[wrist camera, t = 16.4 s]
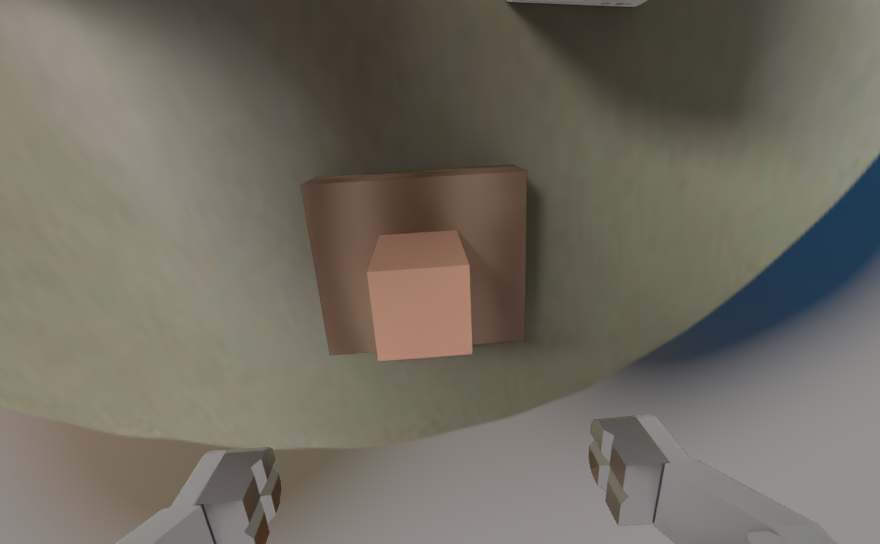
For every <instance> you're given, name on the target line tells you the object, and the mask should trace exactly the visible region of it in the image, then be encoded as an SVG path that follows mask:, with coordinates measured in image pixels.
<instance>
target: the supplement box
mask: <svg viewBox="0 0 880 544" xmlns="http://www.w3.org/2000/svg"><path fill="white" fill-rule="evenodd" d="M506 1H508V2H523V3H547V4H572V5H597V6H621V7H637V6H638V5H640V4H642V3H644V2H646V1H647V0H506Z"/></svg>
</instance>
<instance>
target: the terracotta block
mask: <svg viewBox="0 0 880 544" xmlns="http://www.w3.org/2000/svg"><path fill="white" fill-rule="evenodd" d="M367 278H368V286H369V294H370V302H371V310H372V317H373V325H374V333H375V341H376V349H377V357H378V361H388V360H401V359H415V358H428V357H441V356H454V355H467V354H472V327H471V297H470V268H469V263H468V260H467V257H466V254H465V252H464V249H463V246H462V243H461V240H460V238H459V235H458V232H457V230H451V231H436V232H421V233H407V234H392V235H380V236H379V238H378V241H377V244H376V247H375V250H374V253H373V256H372V259H371V262H370V265H369V267H368V270H367Z"/></svg>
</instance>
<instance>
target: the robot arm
mask: <svg viewBox="0 0 880 544" xmlns="http://www.w3.org/2000/svg"><path fill="white" fill-rule="evenodd" d="M591 434H592V436H593V438H594V441H593V442H592V444H591V445H590V446H589V463H590V468H591V471H592V474H593V477H594V479H595V481H596V483H597V485H598V486H599V487H600V488H602V489H603V490H604V491H606V503H607V505H608V507H609V509H610V511H611V513H612V515H613V517H614V519H615V521H616V523H617V525H618V526H626V525H642V524H654V526H655V527H656V528H657V529H659V530H660V531H661V532H662V533H663V534H664V535H666V536H667V537H668V538H669V539H670V540H672V541H673V542H674V543H675V544H837V543H836V542H835V541H834V540H833V539H832V538H831V537H830V536H829V535H828V534H827V533H826V532H825V531H824V530H823V529H822V528H821V527H820V526H819V525H818V524H817V523H815V522H813V521H811V520H809V519H807V518H805V517H804V516H802V515H800V514H798V513H796V512H794V511H792V510H790V509H788V508H786V507H785V506H783V505H781V504H779V503H777V502H775V501H774V500H772V499H770V498H768V497H766V496H764V495H762V494H760V493H758V492H757V491H755V490H753V489H751V488H749V487H747V486H746V485H744V484H742V483H740V482H738V481H736V480H734V479H732V478H730V477H728V476H727V475H725V474H723V473H721V472H719V471H717V470H716V469H714V468H712V467H710V466H708V465H706V464H704V463H702V462H701V461H693V460H692V459H691V458H690V457H689V456H688V454H687V453H686V452H685V451H684V450H683V448H682V447H681V446H680V445H679V444H678V442H677V441H676V440H675V439H674V438H673V436H672V435H671V434H670V433H669V432H668V430H667V429H666V428H665V427H664V426H663V424H662V423H661V422H660V421H659V420H658V419H657V417H656V416H654V415H653V414H644V415H634V416H627V417H616V418H606V419H595V420H593V422H592V424H591ZM275 460H276V459H275V455H274V452H273V449H272V448H270V447H263V448H246V449H230V450H221V451H209V452H208V453H206V454H204V456H203V457H202V458H201V460H200V461H199V463H198V465H197V466H196V468H195V469H194V471H193V472H192V474H191V475H190V477H189V479H188V480H187V482H186V483H185V485H184V486H183V488H182V490H181V491H180V493H179V495H178V496H177V497H176V499H175V501H174V502H173V504H172V505H171V507H170V508H165V509H162V510H161V511H160V512H158V513H157V514H155V515H154V516H152V517H151V518H150V519H148V520H147V521H146V522H144V523H143V524H142V525H140V526H139V527H138V528H136V529H135V530H133V531H132V532H131V533H129V534H128V535H126V536H125V537H124V538H122V539H121V540H120V541H118V542H117V543H116V544H266V542H267V539H268V536H269V533H270V531H269V527H268V522H269V521H270V520H271V519H272V518H273V517H274V516H275V515H276V513H277V510H278V507H279V504H280V497H281V479H280V475H279V473H278V472H277V471H276V470H275V469H273V468H272V467H273V464H274V462H275Z"/></svg>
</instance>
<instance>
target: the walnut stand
mask: <svg viewBox="0 0 880 544" xmlns="http://www.w3.org/2000/svg"><path fill="white" fill-rule="evenodd" d="M301 190H302V196H303V202H304V208H305V213H306V219H307V225H308V231H309V237H310V243H311V248H312V254H313V260H314V266H315V272H316V278H317V283H318V289H319V295H320V301H321V307H322V313H323V319H324V324H325V330H326V336H327V342H328V348H329V354H330V355H340V354H354V353H367V352H377V349H376V341H375V333H374V325H373V317H372V310H371V302H370V294H369V286H368V278H367V270H368V267H369V265H370V262H371V259H372V256H373V253H374V250H375V247H376V244H377V241H378V238H379V236H380V235H392V234H407V233H421V232H436V231H451V230H457V232H458V235H459V238H460V240H461V243H462V246H463V249H464V252H465V254H466V257H467V260H468V263H469V268H470V297H471V327H472V345H473V344H486V343H499V342H513V341H524V335H525V270H526V206H527V171H526V170H524V169H522V168H519V167H517V166H515V165H502V166H486V167H470V168H455V169H439V170H423V171H407V172H392V173H376V174H360V175H345V176H329V177H316V178H314V179H312V180H310V181H308V182H306V183H304V184H302V185H301Z"/></svg>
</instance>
